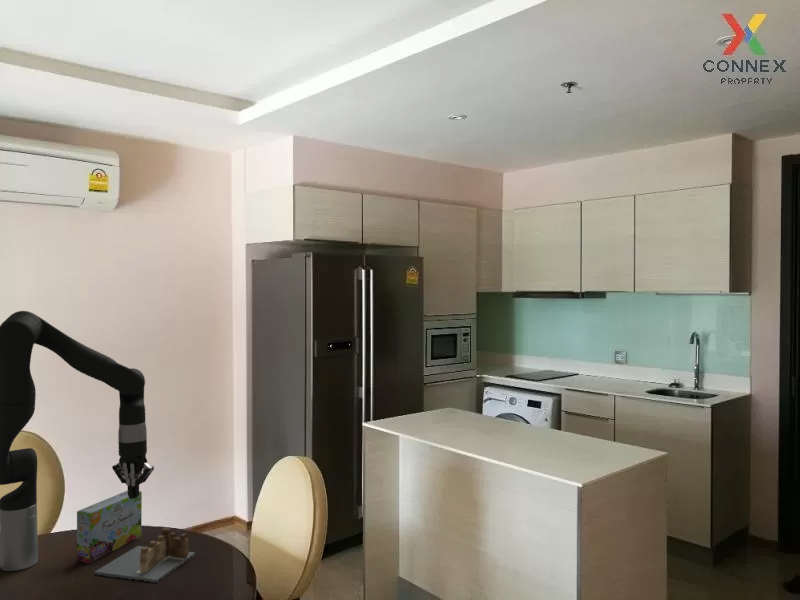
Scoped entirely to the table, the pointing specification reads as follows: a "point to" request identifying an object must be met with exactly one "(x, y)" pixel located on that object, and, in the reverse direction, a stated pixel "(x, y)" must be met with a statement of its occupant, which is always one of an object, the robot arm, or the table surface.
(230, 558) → the table surface
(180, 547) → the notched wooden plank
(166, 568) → the board
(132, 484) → the robot arm
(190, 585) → the table surface
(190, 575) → the table surface
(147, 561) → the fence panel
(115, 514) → the snack box
